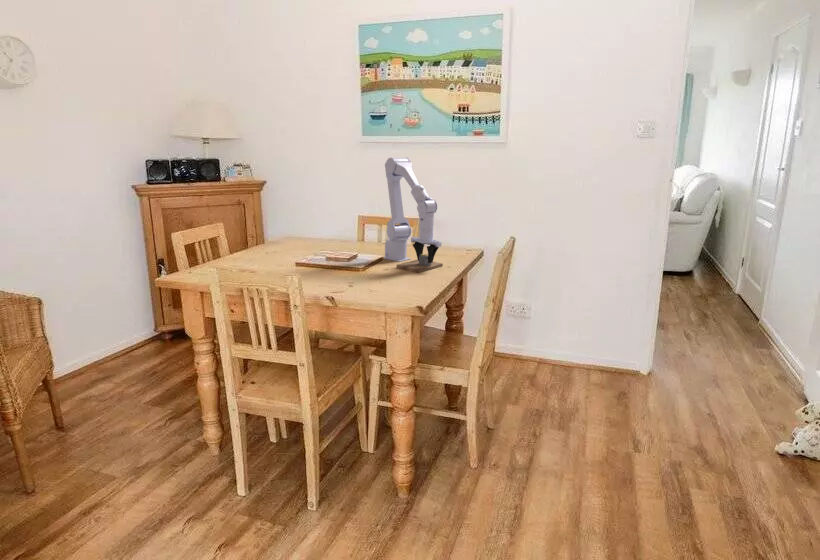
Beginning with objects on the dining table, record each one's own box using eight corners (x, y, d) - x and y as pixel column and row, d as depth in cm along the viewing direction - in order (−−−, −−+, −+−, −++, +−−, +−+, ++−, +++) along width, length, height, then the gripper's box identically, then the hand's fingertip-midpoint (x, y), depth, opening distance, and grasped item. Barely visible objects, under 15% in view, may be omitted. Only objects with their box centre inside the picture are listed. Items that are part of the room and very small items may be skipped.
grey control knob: (416, 264, 235) (416, 254, 234) (423, 262, 238) (424, 252, 237) (426, 266, 232) (426, 256, 231) (433, 264, 236) (433, 254, 234)
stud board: (396, 267, 234) (396, 258, 233) (420, 261, 246) (420, 252, 245) (419, 272, 226) (419, 263, 225) (442, 266, 238) (442, 257, 237)
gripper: (406, 227, 233) (405, 259, 236) (434, 232, 224) (433, 265, 227) (417, 226, 238) (416, 257, 242) (445, 230, 229) (443, 263, 233)
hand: (425, 261), depth 235 cm, fingers closed on grey control knob, 5 cm apart
